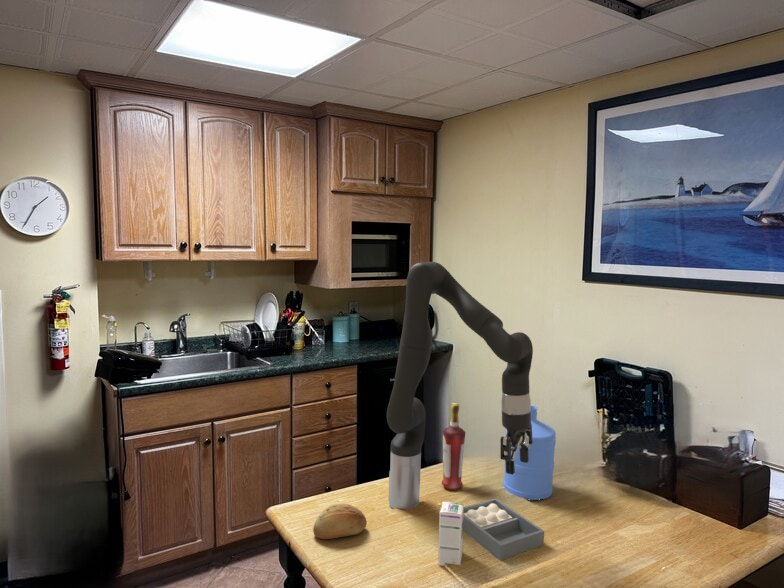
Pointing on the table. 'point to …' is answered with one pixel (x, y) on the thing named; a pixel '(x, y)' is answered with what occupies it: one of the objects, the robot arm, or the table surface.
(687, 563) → the table surface
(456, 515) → the syrup box
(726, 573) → the table surface
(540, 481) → the water jug
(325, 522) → the bread roll
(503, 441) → the robot arm
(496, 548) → the tray
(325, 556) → the table surface
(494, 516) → the egg carton
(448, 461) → the liquor
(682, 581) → the table surface
